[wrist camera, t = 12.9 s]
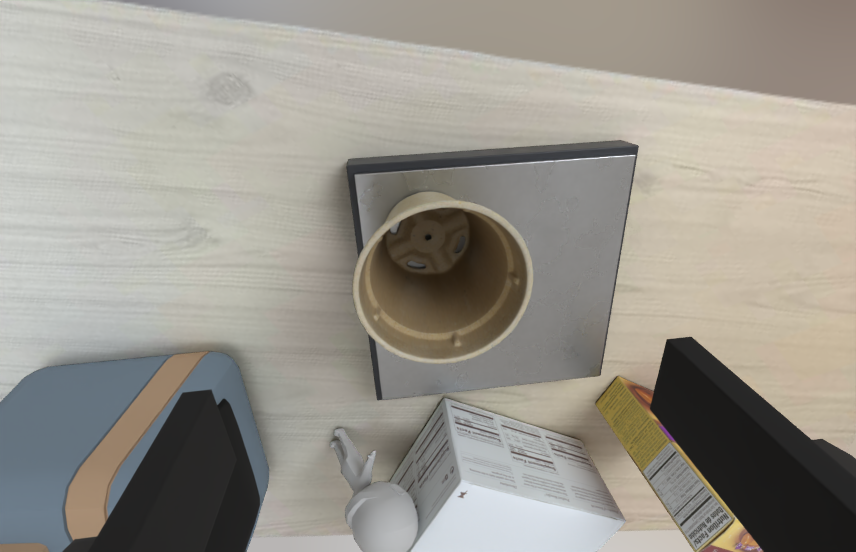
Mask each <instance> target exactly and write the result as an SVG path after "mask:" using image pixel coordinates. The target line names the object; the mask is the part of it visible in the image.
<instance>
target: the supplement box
mask: <svg viewBox="0 0 856 552" xmlns="http://www.w3.org/2000/svg"><path fill="white" fill-rule="evenodd" d="M389 483H396V484H398V485H399V486H400V487H401V488H403V489H404V490H405V491H406V492H407V493H408V494H409V495H410V496H411V498H412V500H413V503H414V505H415V508H416V511H417V514H418V531H417V536H416V538H415V540H414V542H413V544H412V546H411V547H410V548H409V549H408V550H407V551H406V552H597V551H598V550H599V549H600V548H601V547H602V546H603V545H604V544H605V543H606V542H607V541H608V540H609V539H610V538H611V537H612V536H613V535H614V534H615V533H616V532H617V531H618V530H619V529H620V528H621V527H622V525H623V524H624V523H625V522H626V520H625V518H624V517H623V515H622V513H621V511H620V509H619V508H618V506H617V504H616V502H615V500H614V499H613V497H612V495H611V493H610V492H609V490H608V488H607V486H606V484H605V483H604V481H603V479H602V477H601V476H600V474H599V472H598V470H597V468H596V467H595V465H594V463H593V461H592V459H591V457H590V456H589V454H588V452H587V450H586V448H585V446H584V444H583V442H582V441H581V440H577V439H574V438H571V437H568V436H565V435H561V434H558V433H555V432H552V431H549V430H545V429H542V428H539V427H536V426H533V425H530V424H526V423H523V422H520V421H517V420H514V419H511V418H507V417H504V416H501V415H498V414H495V413H491V412H488V411H485V410H482V409H479V408H476V407H472V406H469V405H466V404H463V403H460V402H456V401H453V400H450V399H447V398H443V400H442V401H441V403H440V405H439V406H438V408H437V409H436V411H435V412H434V414H433V415H432V417H431V419H430V420H429V422H428V423H427V425H426V426H425V428H424V429H423V431H422V432H421V434H420V435H419V437H418V438H417V440H416V442H415V443H414V445H413V446H412V448H411V449H410V451H409V452H408V454H407V455H406V457H405V459H404V460H403V462H402V463H401V465H400V466H399V468H398V469H397V471H396V472H395V474H394V476H393V477H392V479H391V480H390V482H389Z"/></svg>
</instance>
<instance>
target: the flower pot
mask: <svg viewBox="0 0 856 552" xmlns="http://www.w3.org/2000/svg"><path fill="white" fill-rule="evenodd" d="M400 221H401V222H400ZM398 222H400V224H399V227H398V230H397V233H396V234H393V233H391V231H390V228H391V227H393V226H394V225H395V224H397V223H398ZM426 235H431V239H429V240H426ZM461 237H465V244H464V246H463V248H462V250H461V251H460V252H458V253H457V252H456V249H457V247H458V244H459V242H460V238H461ZM410 261H413V262H415V263H418V264H422V265H425V268H416V267H411V266H409V265H408V263H409V262H410ZM532 285H533V267H532V260H531V257H530V254H529V251H528V248H527V246H526V244H525V242H524V240H523V238H522V237H521V235H520V234H519V233H518V231H517V230H516V229H515V228H514V227H513V226H512V225H511V224H510V223H509V222H508V221H507V220H506V219H504V218H503V217H502V216H500V215H499V214H497V213H495V212H494V211H492V210H490V209H488V208H486V207H484V206H481V205H478V204H475V203H471V202H466V201H459V200H455V199H453V198H452V197H450V196H448V195H445V194H442V193H438V192H419V193H417V194H414V195H411V196H409V197H407V198H405V199H403V200H402V201H400V202H399V203H398V204H397V205H396V206H395V207H394V208H393V209H392V210H391V212H390V213H389V215H388V217H387V219H386V221H385V223H384V224H383V225H382V226H381V227H380V228H379V229H378V230H377V231H376V232H375V233H374V234H373V235H372V236H371V238H370V239H369V240H368V241H367V243H366V244H365V246H364V248H363V250H362V251H361V253H360V256H359V258H358V260H357V263H356V266H355V270H354V275H353V281H352V293H353V301H354V305H355V309H356V312H357V315H358V317H359V320H360V322H361V324H362V325H363V327H364V328H365V330H366V331H367V332H368V334H369V335H370V336H371V337H372V338H373V339H374V340H375V341H376V342H377V343H378V344H380V345H381V346H382V347H383V348H384V349H386V350H388V351H389V352H391V353H394V354H396V355H398V356H400V357H402V358H405V359H408V360H412V361H415V362H422V363H430V364H446V363H455V362H459V361H462V360H467V359H470V358H474V357H476V356H478V355H480V354H482V353H484V352H486V351H488V350H489V349H491V348H492V347H494V346H495V345H497V344H499V343H500V342H501V341H502V340H503V339H504V338H506V337H507V336H508V335H509V333H511V332H512V330H513V329H514V328H515V326H517V324H518V322H519V321H520V319H521V318H522V316H523V314H524V312H525V310H526V308H527V305H528V303H529V299H530V296H531V291H532Z"/></svg>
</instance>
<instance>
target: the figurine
mask: <svg viewBox="0 0 856 552" xmlns="http://www.w3.org/2000/svg"><path fill="white" fill-rule="evenodd" d="M334 435H336V436H339V439H340V441H341V443H340V441H339V440H335V441H332V442H331V443H330V447H332V448H334V449H335V451H336V454H337V456H338V459H339V462H340V464H341V474H343V475H344V477H345V478H346V480H347V481H348V483H349V485H350V487H351V488H352V490H353V491H354V493H353V497H352V499H351V500H350V502H349V503H348V505H347V506H346V509H345V518H346V522H347V524H348V525H349V527H350V528H351V529H352V531H353V535H354V539H355V541H356V543H357V544H358V546H359V547H360V549H361V550H362V551H363V552H406V551H407V550H408V549H409V548H410V547H411V546H412V544H413V542H414V540H415V538H416V536H417V531H418V514H417V511H416V508H415V505H414V503H413V500H412V498H411V496H410V495H409V494H408V493H407V492H406V491H405V490H404V489H403V488H401V487H400V486H399V485H398V484H396V483H389V482H381V481H378V482H374V483H372V484H370V483H371V480H372V467H373V463H374V460H375V456H376V451H372V452H371V454H370V455H368V456H367V457H368V459H367V461H366V463H364V461H363V458H362V456H361V454H360V453H359V452H358V451H357V449H356V448H355V446H354V444H353V443H352V441H351V440H350V439H349V437H348V436H347V434H346V432H345V430H344V429H343V428H339V429H335V430H334ZM341 444H342V445H341Z"/></svg>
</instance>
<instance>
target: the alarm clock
mask: <svg viewBox="0 0 856 552" xmlns="http://www.w3.org/2000/svg"><path fill="white" fill-rule="evenodd" d="M210 389H212V392H213V395H214V398H215V400H216V403H217V406H218V409H219V412H220V414H221V417H222V420H223V423H224V425H225V428H226V431H227V434H228V436H229V439H230V442H231V445H232V448H233V450H234V453H235V456H236V459H237V461H236V463H235V466H234V469H233V472H232V475H231V478H230V480H229V483H228V486H227V489H226V492H225V495H224V497H223V500H222V503H221V506H220V509H219V512H218V514H217V517H216V520H215V523H214V526H213V529H212V531H211V534H210V537H209V540H208V543H207V545H206V548H205V551H204V552H247V549H248V546H249V544H250V541H251V538H252V535H253V533H254V530H255V527H256V524H257V520H258V517H259V513H260V510H261V506H262V503H263V500H264V497H265V494H266V491H267V488H268V481H269V467H268V464H267V460H266V457H265V454H264V450H263V447H262V444H261V440H260V437H259V434H258V430H257V427H256V423H255V420H254V417H253V413H252V410H251V407H250V403H249V400H248V397H247V393H246V390H245V386H244V383H243V380H242V376H241V373H240V370H239V367H238V365H237V364H236V363H235V361H234V360H233V359H232V358H231V357H230V356H228V355H227V354H224V353H219V352H212V351H211V352H209V351H206V352H196V353H186V354H175V355H165V356H155V357H144V358H134V359H123V360H113V361H103V362H92V363H82V364H72V365H61V366H51V367H46V368H43V369H40V370H37V371H34V372H33V373H31V374H29V375H28V376H26V377H24V378H23V380H22V381H21V382H20V383H19V384H18V385H17V386H16V387H15V388H14V389H13V390H12V391H11V392H10V393H9V394H8V395H7V396H6V397H5V398H4V399H3V400H2V401H1V402H0V552H62V551H63V550H64V549H65V548H66V547H67V546H68V545H69V544H70V543H71V542H72V541H73V540H74V539H81V538H88V537H96V536H98V534H99V532H100V531H101V529H102V527H103V526H104V524H105V522H106V521H107V519H108V517H109V515H110V514H111V512H112V510H113V509H114V507H115V505H116V504H117V502H118V500H119V499H120V497H121V495H122V494H123V492H124V490H125V489H126V487H127V485H128V483H129V482H130V480H131V478H132V477H133V475H134V473H135V472H136V470H137V468H138V467H139V465H140V463H141V462H142V460H143V458H144V457H145V455H146V453H147V451H148V450H149V448H150V446H151V445H152V443H153V441H154V440H155V438H156V436H157V435H158V433H159V431H160V430H161V428H162V426H163V424H164V423H165V421H166V419H167V418H168V416H169V414H170V413H171V411H172V409H173V408H174V406H175V404H176V403H177V401H178V399H179V398H180V396H181V394H182V393H183V392H192V391H201V390H210Z"/></svg>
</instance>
